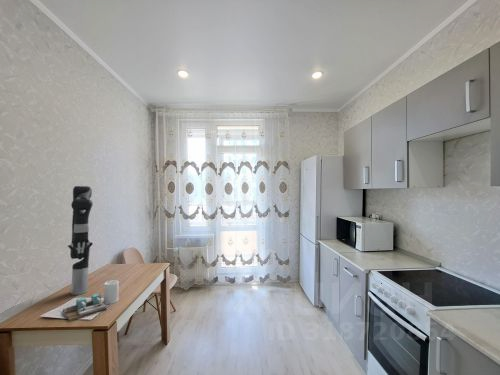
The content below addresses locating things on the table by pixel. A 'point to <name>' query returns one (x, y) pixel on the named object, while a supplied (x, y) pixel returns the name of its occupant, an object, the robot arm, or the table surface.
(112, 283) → the mug
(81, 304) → the sliding leg
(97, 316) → the table surface
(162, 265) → the table surface
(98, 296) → the fixed leg
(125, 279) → the table surface
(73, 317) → the board
